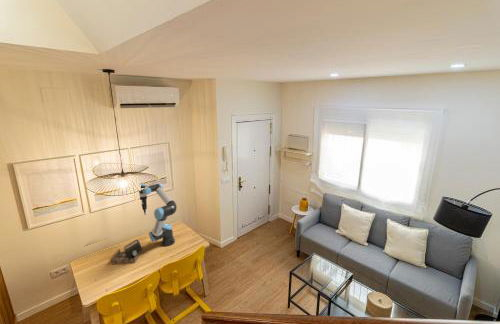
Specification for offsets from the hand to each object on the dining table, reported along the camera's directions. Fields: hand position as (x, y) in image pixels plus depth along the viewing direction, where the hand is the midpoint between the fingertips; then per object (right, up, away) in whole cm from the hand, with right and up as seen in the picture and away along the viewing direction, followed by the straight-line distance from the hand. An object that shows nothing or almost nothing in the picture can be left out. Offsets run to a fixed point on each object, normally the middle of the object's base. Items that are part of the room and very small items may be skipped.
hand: (145, 214), depth 288 cm
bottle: (-10, -33, -13) cm, 37 cm away
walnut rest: (-9, -42, -25) cm, 50 cm away
